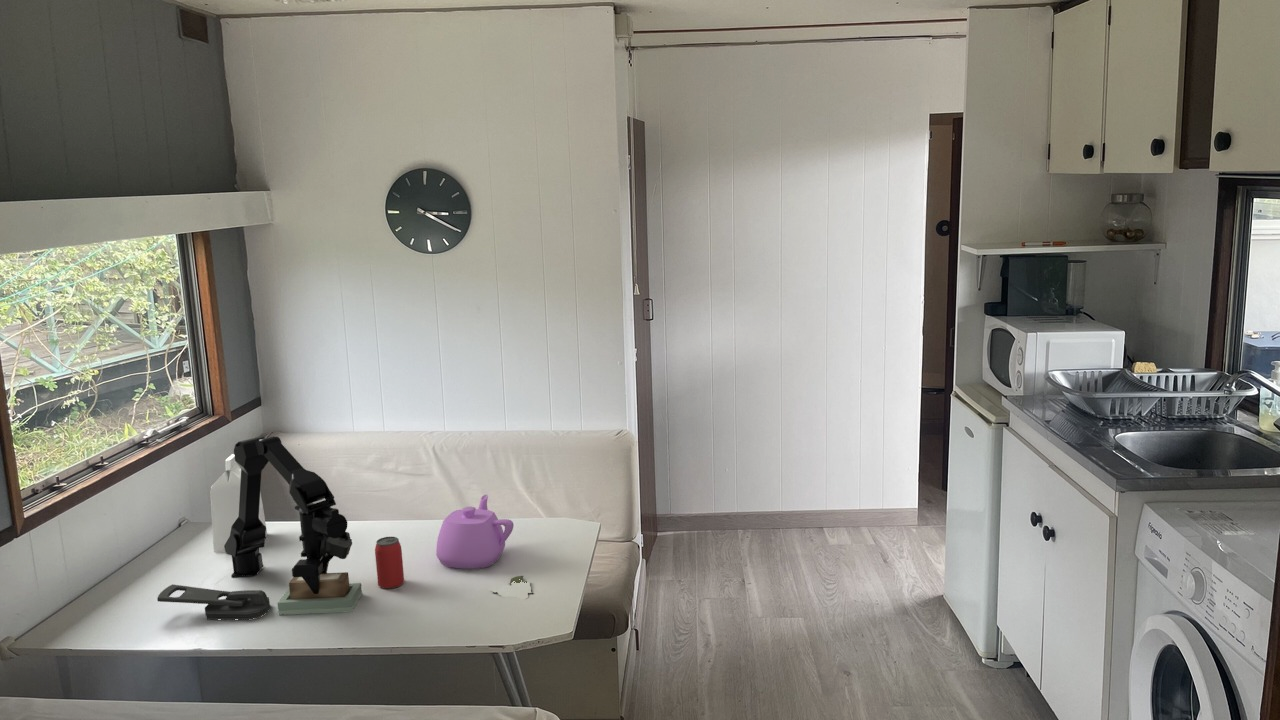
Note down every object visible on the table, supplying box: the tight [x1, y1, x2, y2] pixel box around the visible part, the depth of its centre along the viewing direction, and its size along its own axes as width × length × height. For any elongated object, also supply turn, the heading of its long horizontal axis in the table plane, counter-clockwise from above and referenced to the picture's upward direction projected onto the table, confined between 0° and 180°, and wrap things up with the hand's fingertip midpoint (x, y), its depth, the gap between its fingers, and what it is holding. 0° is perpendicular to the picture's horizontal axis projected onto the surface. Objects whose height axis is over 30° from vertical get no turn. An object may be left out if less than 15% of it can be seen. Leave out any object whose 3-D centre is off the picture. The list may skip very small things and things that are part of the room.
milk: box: [209, 453, 268, 553], centre depth 273 cm, size 12×12×26 cm
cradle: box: [277, 582, 363, 616], centre depth 233 cm, size 18×10×3 cm, turn 92°
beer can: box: [374, 536, 405, 590], centre depth 243 cm, size 7×7×12 cm
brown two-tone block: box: [288, 571, 350, 600], centre depth 233 cm, size 13×5×5 cm, turn 92°
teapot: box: [435, 494, 514, 569], centre depth 259 cm, size 23×21×15 cm
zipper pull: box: [156, 584, 271, 621], centre depth 230 cm, size 9×7×25 cm
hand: (319, 588), depth 233 cm, fingers closed on brown two-tone block, 5 cm apart
